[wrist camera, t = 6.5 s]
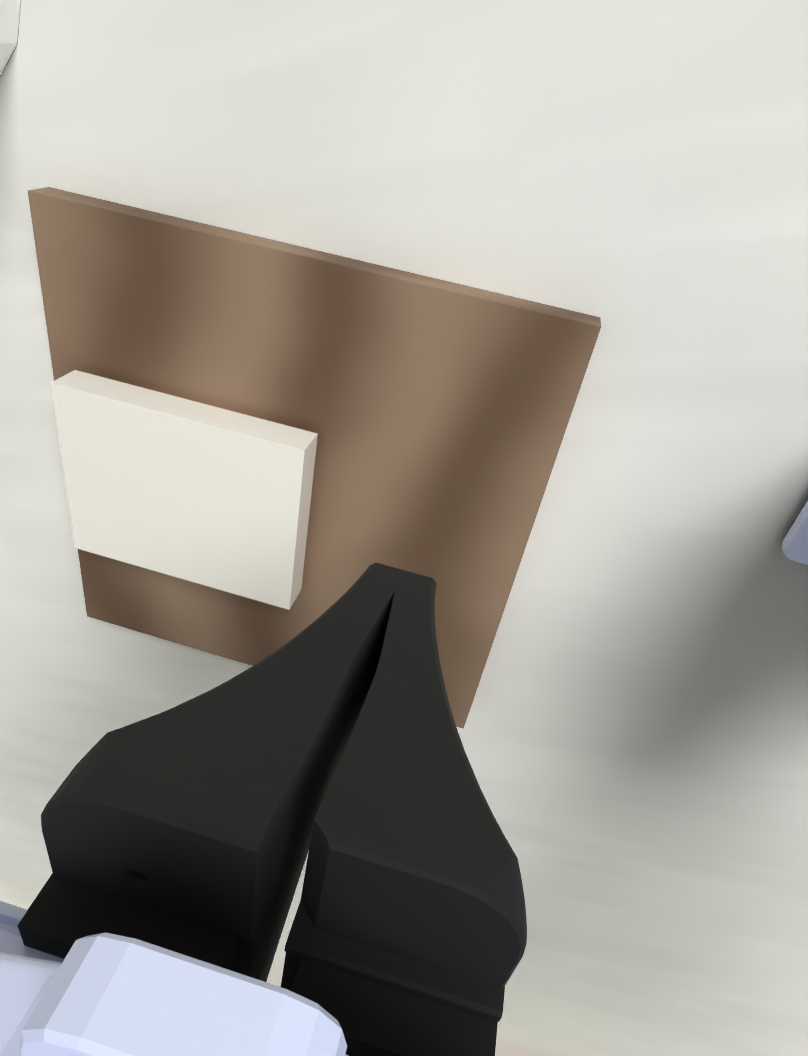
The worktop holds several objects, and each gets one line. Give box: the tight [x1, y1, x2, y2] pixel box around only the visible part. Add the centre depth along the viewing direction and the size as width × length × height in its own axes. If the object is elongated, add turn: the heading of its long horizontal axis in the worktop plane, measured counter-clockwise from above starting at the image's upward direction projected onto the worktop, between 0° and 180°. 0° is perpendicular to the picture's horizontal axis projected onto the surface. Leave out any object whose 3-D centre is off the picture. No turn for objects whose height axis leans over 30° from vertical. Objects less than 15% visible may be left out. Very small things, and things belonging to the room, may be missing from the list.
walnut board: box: [28, 187, 601, 728], centre depth 25 cm, size 18×18×1 cm
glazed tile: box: [51, 370, 318, 610], centre depth 24 cm, size 2×7×9 cm
